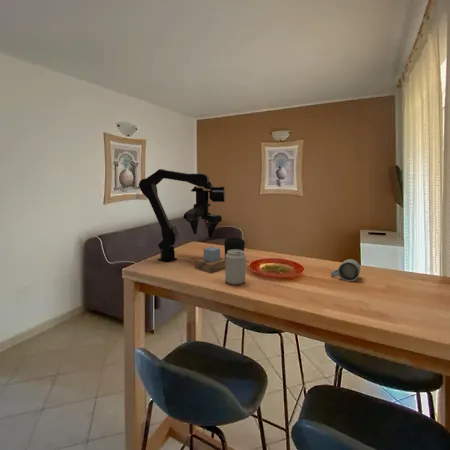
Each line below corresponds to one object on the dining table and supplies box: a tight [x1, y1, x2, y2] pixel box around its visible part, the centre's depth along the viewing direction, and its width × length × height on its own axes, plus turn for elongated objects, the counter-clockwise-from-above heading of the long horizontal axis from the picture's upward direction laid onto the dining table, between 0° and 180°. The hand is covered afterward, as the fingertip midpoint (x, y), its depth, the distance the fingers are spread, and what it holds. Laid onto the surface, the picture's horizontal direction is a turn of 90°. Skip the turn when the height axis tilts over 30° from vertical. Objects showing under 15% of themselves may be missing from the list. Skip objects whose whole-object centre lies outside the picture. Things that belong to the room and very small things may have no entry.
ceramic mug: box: [330, 258, 361, 282], centre depth 120 cm, size 11×8×8 cm
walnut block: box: [194, 257, 226, 274], centre depth 131 cm, size 10×10×4 cm
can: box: [224, 249, 247, 286], centre depth 114 cm, size 8×8×12 cm
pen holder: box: [223, 237, 246, 259], centre depth 142 cm, size 9×9×10 cm
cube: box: [203, 246, 221, 262], centre depth 130 cm, size 5×5×5 cm
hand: (202, 235), depth 139 cm, fingers open, 9 cm apart
